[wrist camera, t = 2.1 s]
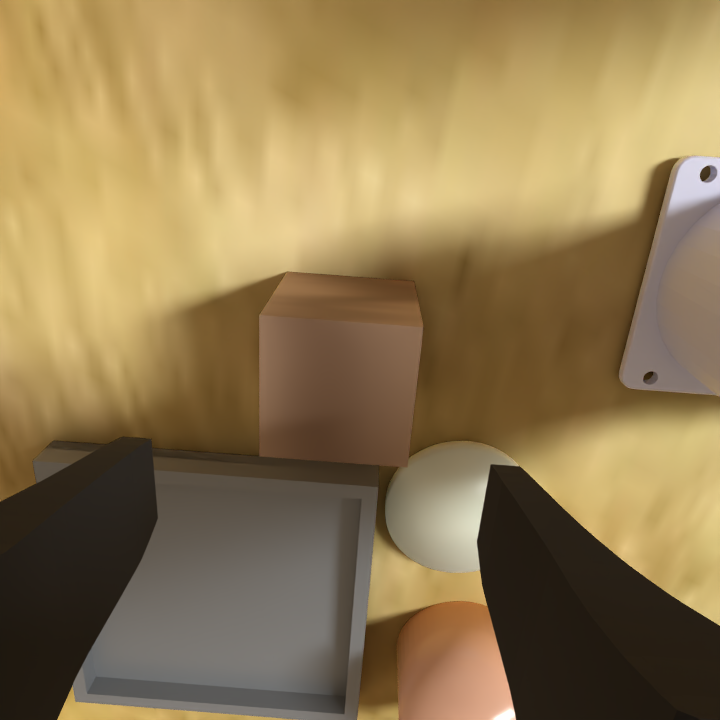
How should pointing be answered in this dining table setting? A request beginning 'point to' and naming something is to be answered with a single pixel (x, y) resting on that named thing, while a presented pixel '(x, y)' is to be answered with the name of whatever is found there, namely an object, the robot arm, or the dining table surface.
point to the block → (339, 369)
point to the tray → (240, 588)
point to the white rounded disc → (441, 504)
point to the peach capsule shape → (451, 666)
